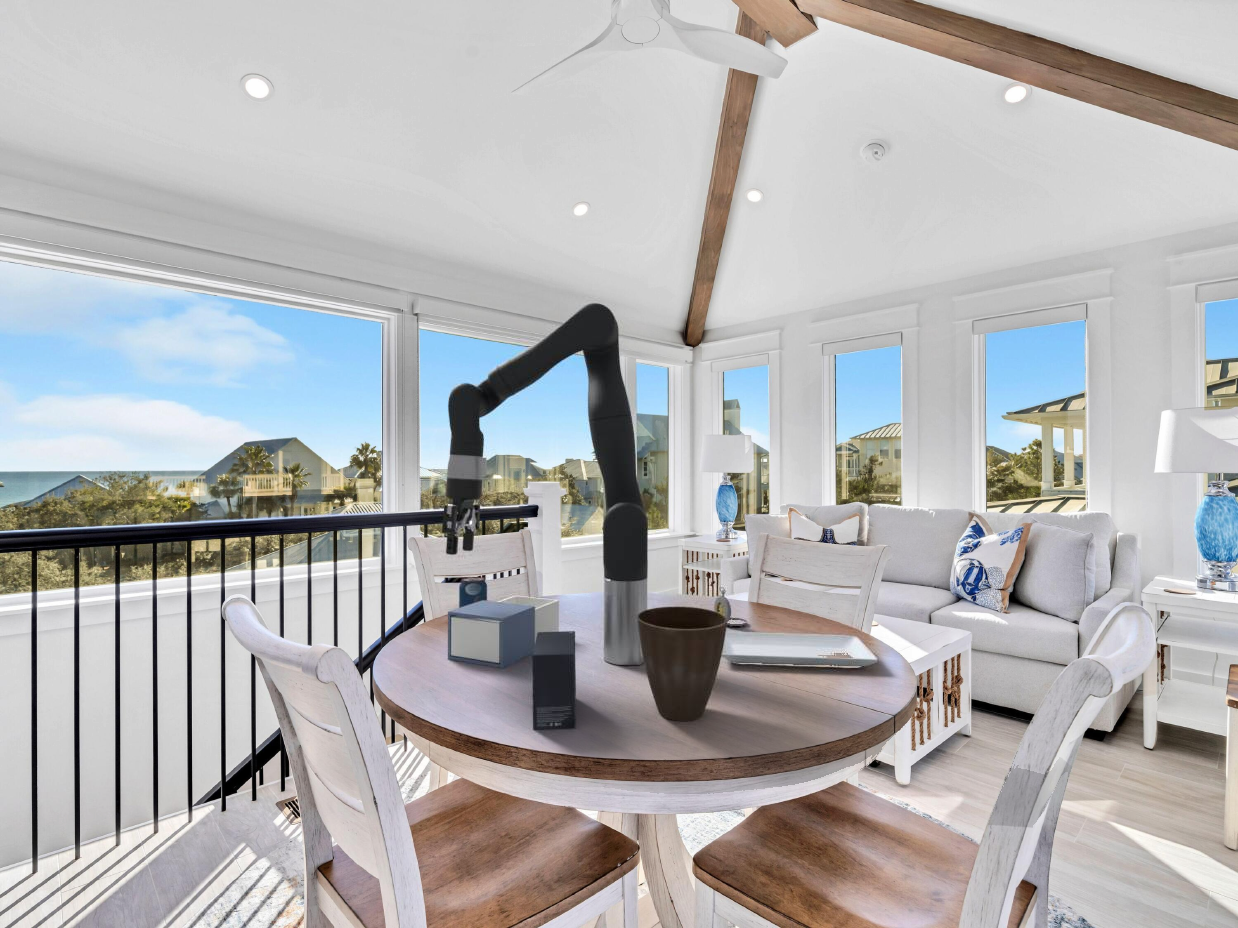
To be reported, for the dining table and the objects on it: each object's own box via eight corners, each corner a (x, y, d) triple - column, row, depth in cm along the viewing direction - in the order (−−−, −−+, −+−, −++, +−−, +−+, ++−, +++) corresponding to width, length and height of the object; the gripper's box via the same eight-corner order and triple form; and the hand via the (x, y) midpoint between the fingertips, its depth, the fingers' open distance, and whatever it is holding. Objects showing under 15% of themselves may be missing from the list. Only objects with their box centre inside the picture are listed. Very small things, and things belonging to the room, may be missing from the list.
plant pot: (744, 711, 104) (744, 615, 104) (692, 740, 93) (693, 633, 93) (672, 689, 114) (672, 602, 114) (618, 713, 103) (618, 617, 103)
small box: (536, 698, 109) (537, 630, 109) (575, 697, 110) (576, 630, 110) (531, 730, 96) (531, 653, 96) (575, 729, 97) (576, 652, 97)
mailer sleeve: (534, 651, 136) (535, 606, 136) (502, 667, 125) (503, 618, 125) (482, 643, 142) (482, 600, 142) (447, 658, 131) (447, 611, 131)
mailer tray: (558, 633, 148) (558, 600, 148) (499, 662, 126) (499, 623, 126) (515, 627, 153) (515, 595, 153) (451, 655, 131) (451, 617, 131)
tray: (880, 676, 123) (880, 658, 123) (719, 669, 126) (719, 652, 126) (856, 650, 139) (856, 635, 139) (715, 645, 143) (715, 630, 143)
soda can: (480, 629, 154) (481, 581, 154) (454, 628, 155) (454, 580, 155) (491, 622, 161) (491, 576, 161) (465, 621, 162) (465, 575, 162)
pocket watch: (750, 623, 161) (751, 585, 161) (739, 630, 154) (739, 590, 154) (721, 619, 166) (721, 581, 166) (708, 626, 159) (708, 587, 159)
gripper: (468, 477, 126) (463, 557, 126) (493, 478, 140) (488, 550, 140) (433, 475, 128) (428, 554, 127) (461, 476, 142) (456, 548, 141)
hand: (459, 552), depth 133 cm, fingers open, 8 cm apart
